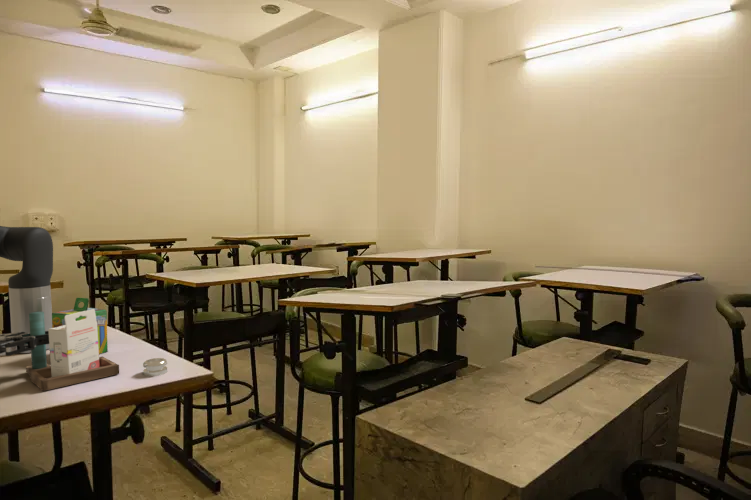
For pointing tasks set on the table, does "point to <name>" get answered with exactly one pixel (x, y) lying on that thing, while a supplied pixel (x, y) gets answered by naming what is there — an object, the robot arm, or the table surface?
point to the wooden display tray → (43, 369)
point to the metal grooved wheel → (155, 367)
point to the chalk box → (100, 318)
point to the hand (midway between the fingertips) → (52, 336)
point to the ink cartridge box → (74, 344)
